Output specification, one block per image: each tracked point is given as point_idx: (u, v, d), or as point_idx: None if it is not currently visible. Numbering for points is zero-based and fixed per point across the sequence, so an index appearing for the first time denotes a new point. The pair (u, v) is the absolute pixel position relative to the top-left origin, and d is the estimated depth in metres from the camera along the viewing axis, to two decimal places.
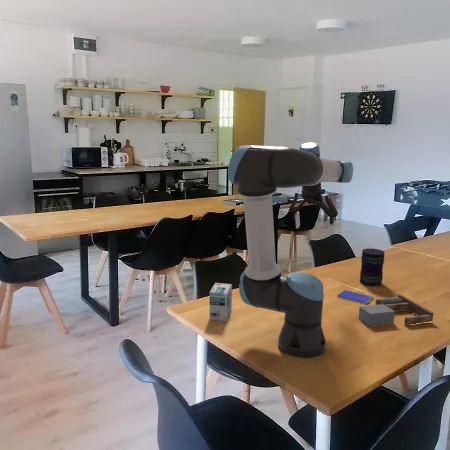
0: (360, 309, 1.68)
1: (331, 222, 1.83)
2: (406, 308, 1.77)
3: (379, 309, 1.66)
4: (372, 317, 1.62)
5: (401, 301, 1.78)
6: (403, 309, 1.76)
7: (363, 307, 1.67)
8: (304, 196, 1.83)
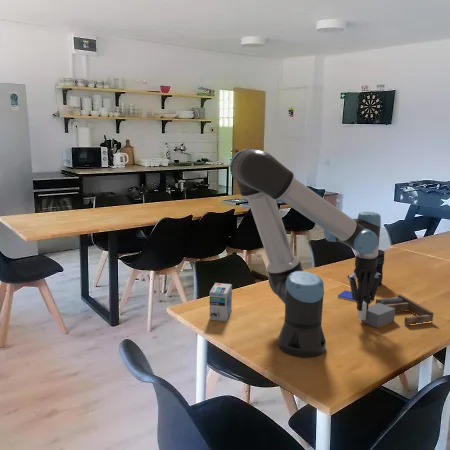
0: None
1: None
2: (406, 308, 1.77)
3: (380, 308, 1.66)
4: (380, 318, 1.62)
5: (401, 301, 1.78)
6: (403, 309, 1.76)
7: None
8: None
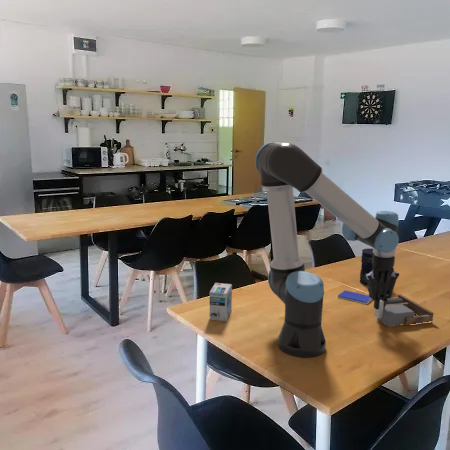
0: None
1: None
2: None
3: (398, 309, 1.66)
4: (392, 318, 1.62)
5: (401, 301, 1.78)
6: None
7: None
8: None
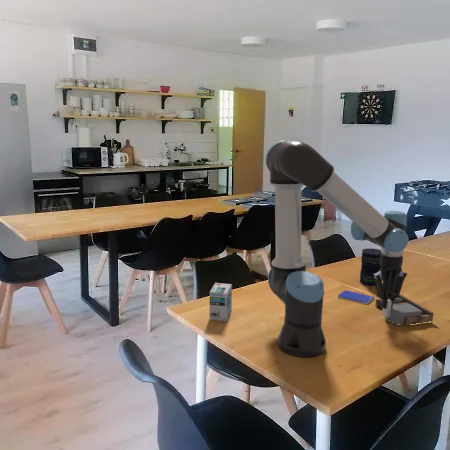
0: None
1: None
2: None
3: (405, 308, 1.67)
4: (399, 317, 1.63)
5: (401, 301, 1.78)
6: None
7: None
8: None
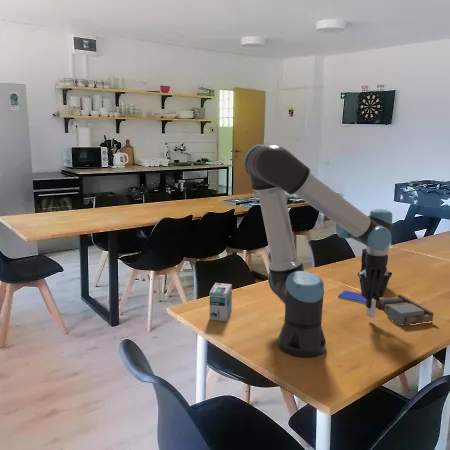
0: (389, 308, 1.69)
1: None
2: None
3: (408, 308, 1.67)
4: (402, 317, 1.63)
5: (401, 301, 1.78)
6: None
7: (392, 306, 1.68)
8: None
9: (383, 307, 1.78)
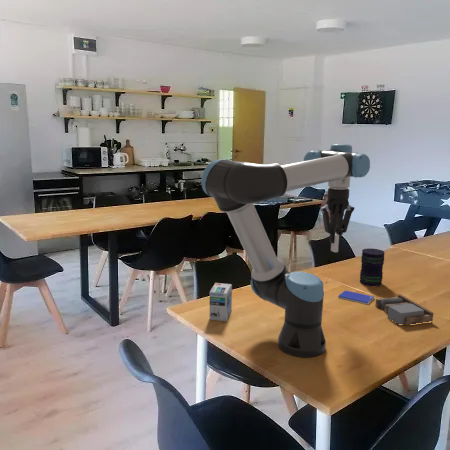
0: (389, 308, 1.69)
1: None
2: None
3: (408, 308, 1.67)
4: (403, 317, 1.63)
5: (401, 301, 1.78)
6: None
7: (392, 306, 1.68)
8: None
9: (383, 307, 1.78)
